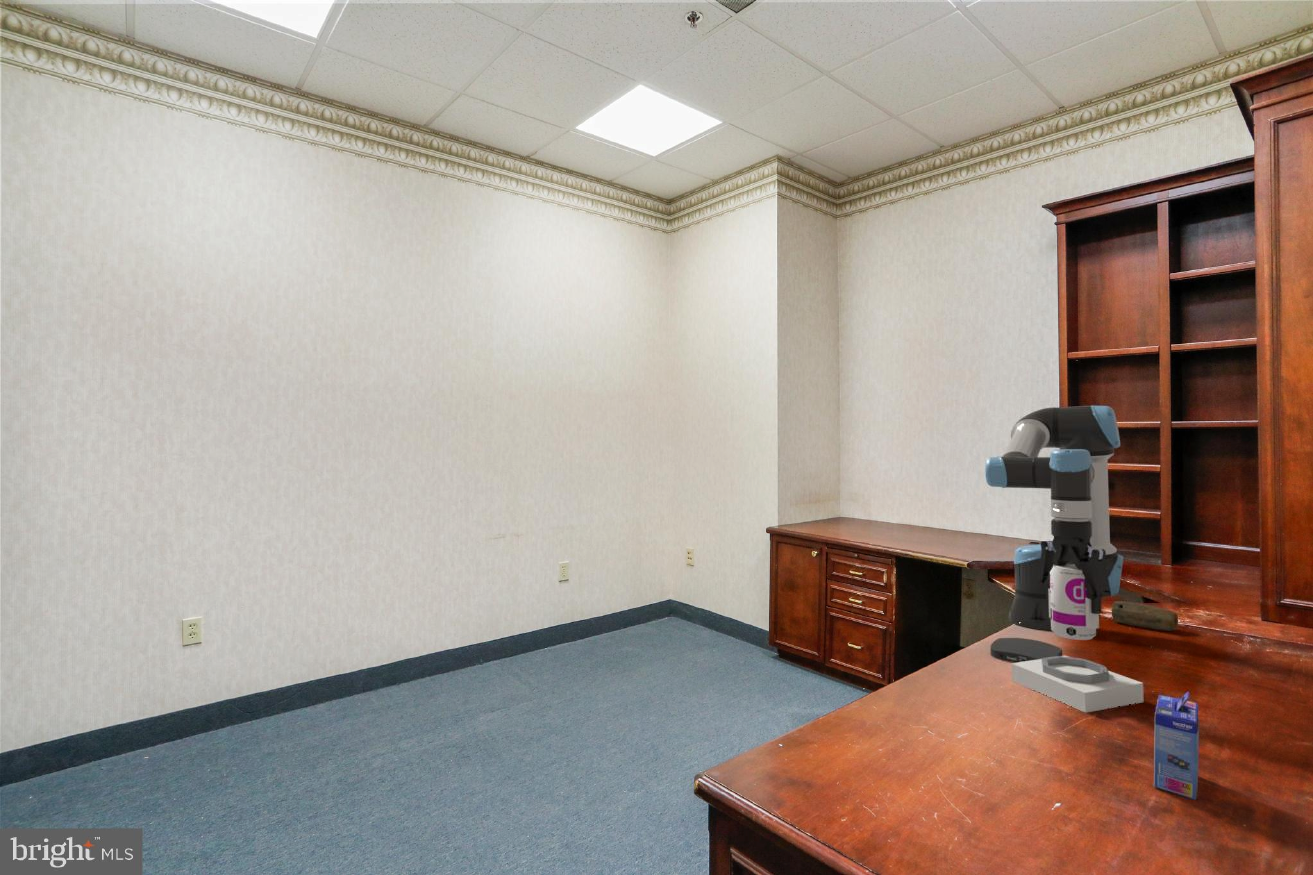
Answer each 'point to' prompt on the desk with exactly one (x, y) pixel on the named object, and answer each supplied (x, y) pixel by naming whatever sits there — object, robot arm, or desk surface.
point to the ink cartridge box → (1176, 745)
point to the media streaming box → (1022, 649)
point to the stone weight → (1144, 616)
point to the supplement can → (1069, 603)
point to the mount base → (1078, 683)
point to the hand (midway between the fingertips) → (1073, 622)
